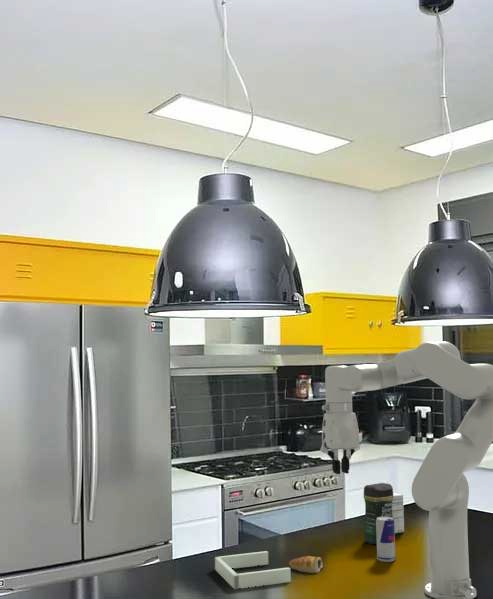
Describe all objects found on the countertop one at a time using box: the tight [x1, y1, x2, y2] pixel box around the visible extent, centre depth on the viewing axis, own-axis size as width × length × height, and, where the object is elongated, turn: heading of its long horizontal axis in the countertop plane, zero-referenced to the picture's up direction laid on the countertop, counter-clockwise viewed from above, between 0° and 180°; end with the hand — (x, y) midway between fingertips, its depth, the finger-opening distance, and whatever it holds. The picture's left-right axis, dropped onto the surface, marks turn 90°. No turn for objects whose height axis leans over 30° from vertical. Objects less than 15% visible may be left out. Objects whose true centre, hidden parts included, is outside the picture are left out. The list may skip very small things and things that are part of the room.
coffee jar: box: [363, 482, 394, 545], centre depth 229 cm, size 10×8×19 cm
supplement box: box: [392, 491, 405, 534], centre depth 243 cm, size 7×7×13 cm
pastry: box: [288, 555, 324, 574], centre depth 202 cm, size 9×7×4 cm
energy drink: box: [376, 516, 397, 563], centre depth 210 cm, size 5×5×12 cm
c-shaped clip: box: [214, 550, 292, 590], centre depth 197 cm, size 18×16×4 cm
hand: (341, 472), depth 202 cm, fingers closed
